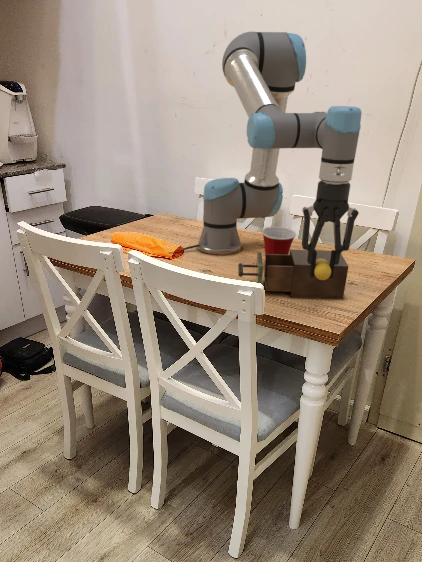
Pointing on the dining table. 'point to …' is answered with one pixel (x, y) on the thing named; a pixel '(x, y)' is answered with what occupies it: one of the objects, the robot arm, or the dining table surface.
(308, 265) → the cabinet
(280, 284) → the drawer
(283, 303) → the dining table surface
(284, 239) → the plastic cup
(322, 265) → the yellow oval piece
